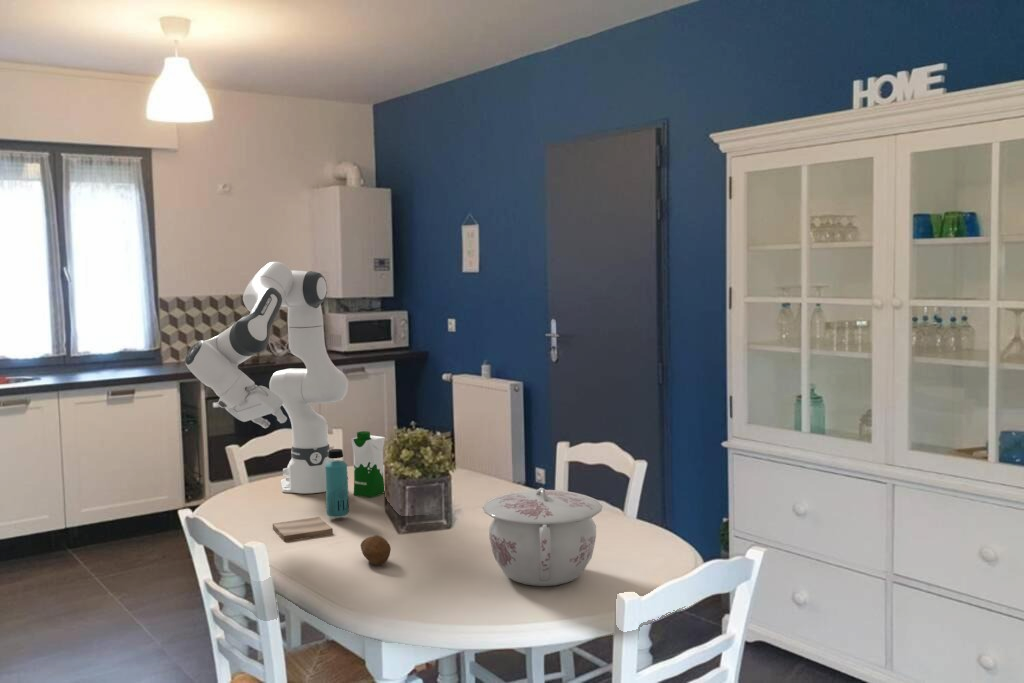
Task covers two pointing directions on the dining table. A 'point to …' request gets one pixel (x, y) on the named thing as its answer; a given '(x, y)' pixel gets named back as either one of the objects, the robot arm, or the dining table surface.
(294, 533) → the trivet
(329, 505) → the beverage bottle
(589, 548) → the chamber pot
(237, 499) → the dining table surface
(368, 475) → the milk carton
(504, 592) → the dining table surface
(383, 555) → the potato
